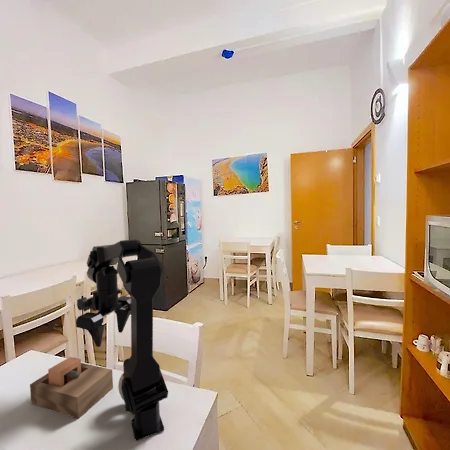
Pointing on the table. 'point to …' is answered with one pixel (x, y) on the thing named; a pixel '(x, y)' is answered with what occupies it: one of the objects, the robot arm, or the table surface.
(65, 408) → the wooden divided tray
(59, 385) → the staple
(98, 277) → the robot arm
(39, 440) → the table surface
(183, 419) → the table surface
